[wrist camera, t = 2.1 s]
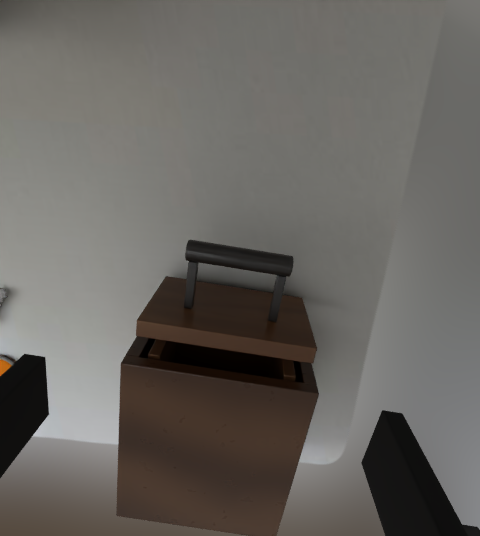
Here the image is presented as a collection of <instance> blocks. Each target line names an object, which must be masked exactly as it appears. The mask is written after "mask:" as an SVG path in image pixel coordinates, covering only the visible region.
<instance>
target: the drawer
mask: <svg viewBox="0 0 480 536" xmlns="http://www.w3.org/2000/svg"><path fill="white" fill-rule="evenodd" d="M185 258H186V260H187V261H189V263H188V272H187V279H181V278H174V277H168V276H166V277H165V279H164V280H163V282H162V283H161V285H160V286H159V288H158V289H157V291H156V292H155V294H154V295H153V297H152V298H151V300H150V301H149V303H148V304H147V306H146V307H145V309H144V310H143V312H142V313H141V315H140V316H139V318H138V319H137V328H136V336H140V337H146V338H153V339H156V340H155V342H154V344H153V346H152V348H151V350H150V352H149V354H148V359H153V360H160V361H166V362H173V363H179V364H185V365H192V366H198V367H205V368H211V369H217V370H224V371H230V372H237V373H243V374H250V375H256V376H262V377H269V378H275V379H282V380H288V381H295V378H296V376H295V370H294V364H293V361H300V362H306V363H313V362H314V358H315V355H316V351H317V347H316V343H315V340H314V336H313V333H312V329H311V326H310V323H309V319H308V316H307V312H306V309H305V305H304V302H303V299H302V298H300V297H294V296H288V295H283V290H284V286H285V281H286V276H287V277H289V276H290V275H291V272H292V268H293V256H289V255H283V254H276V253H270V252H264V251H258V250H251V249H245V248H239V247H233V246H226V245H220V244H214V243H208V242H201V241H195V240H189V241H188V243H187V247H186V253H185ZM198 262H199V263H206V264H212V265H218V266H224V267H231V268H237V269H243V270H249V271H256V272H262V273H268V274H275V275H277V276H276V281H275V286H274V291H273V293H269V292H262V291H256V290H250V289H244V288H237V287H231V286H225V285H218V284H212V283H206V282H199V281H196V280H197V271H198Z"/></svg>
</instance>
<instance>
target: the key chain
mask: <svg viewBox="0 0 480 536" xmlns="http://www.w3.org/2000/svg"><path fill="white" fill-rule="evenodd" d="M6 294H7V292H6V291H5V290H4V289H2V288H0V302H1V303H3V300H2V299H3V298H4V297H5V298H7V295H6ZM1 303H0V307H1V306H2V304H1ZM13 364H14V362H13V361H11V360H10V359H8V358H6V357H4V356H0V376H1V375H2V374H3V373H4V372H6V371H7V370H8V369H9V368H10V367H11V366H12V365H13Z"/></svg>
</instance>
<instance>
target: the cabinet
mask: <svg viewBox="0 0 480 536" xmlns="http://www.w3.org/2000/svg"><path fill="white" fill-rule="evenodd" d="M155 340H156V339H153V338H146V337H140V336H137V337H136V339H135V341H134V342H133V344H132V346H131V347H130V349H129V350H128V352H127V354H126V356H125V357H124V359H123V361H122V362H121V377H120V412H119V446H118V480H117V481H118V482H117V514H116V515H117V516H121V517H128V518H134V519H141V520H148V521H155V522H161V523H168V524H174V525H181V526H188V527H195V528H201V529H208V530H214V531H221V532H228V533H235V534H241V535H248V536H276V535H277V532H278V529H279V525H280V522H281V519H282V515H283V512H284V508H285V505H286V502H287V499H288V495H289V492H290V489H291V485H292V482H293V479H294V475H295V472H296V468H297V465H298V462H299V459H300V455H301V452H302V449H303V445H304V442H305V439H306V435H307V432H308V429H309V425H310V422H311V419H312V415H313V412H314V409H315V405H316V402H317V399H318V395H319V393H318V389H317V384H316V380H315V376H314V372H313V368H312V364H311V363H306V362H300V361H293V364H294V370H295V376H296V378H295V381H288V380H282V379H275V378H269V377H262V376H256V375H250V374H243V373H237V372H230V371H224V370H217V369H211V368H205V367H198V366H192V365H185V364H179V363H173V362H166V361H160V360H153V359H148V354H149V352H150V350H151V348H152V346H153V344H154V342H155Z"/></svg>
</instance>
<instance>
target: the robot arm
mask: <svg viewBox="0 0 480 536" xmlns="http://www.w3.org/2000/svg"><path fill="white" fill-rule="evenodd" d="M48 415H49V409H48V394H47V378H46V362H45V357H41V356H34V355H28V354H24V355H23V356H22V357H21V358H20V359H19V360H17V361H16V362H15V363H14V364H13V365H12V366H11V367H10V368H9V369H8V370H7V371H6V372H4V373H3V374H2V375H1V376H0V478H1V477H2V475H3V474H4V473H5V471H6V470H7V469H8V467H9V466H10V465H11V463H12V462H13V461H14V459H15V458H16V457H17V455H18V454H19V453H20V451H21V450H22V448H23V447H24V446H25V445H26V443H27V442H28V441H29V440H30V438H31V437H32V436H33V434H34V433H35V432H36V430H37V429H38V428H39V426H40V425H41V424H42V422H43V421H44V420H45V419H46V417H47V416H48ZM362 466H363V469H364V472H365V475H366V478H367V481H368V484H369V487H370V490H371V493H372V496H373V499H374V502H375V506H376V509H377V512H378V515H379V518H380V521H381V524H382V527H383V530H384V533H385V536H480V530H479V528H478V527H474V526H467V525H462V524H461V522H460V520H459V518H458V516H457V514H456V513H455V511H454V509H453V507H452V505H451V503H450V501H449V500H448V498H447V496H446V494H445V492H444V490H443V488H442V487H441V485H440V483H439V481H438V479H437V477H436V476H435V474H434V472H433V470H432V468H431V466H430V464H429V462H428V461H427V459H426V457H425V455H424V453H423V451H422V449H421V448H420V446H419V444H418V442H417V440H416V438H415V436H414V435H413V433H412V431H411V429H410V427H409V425H408V423H407V421H406V420H405V418H404V416H403V414H402V413H396V412H389V411H382V412H381V415H380V417H379V420H378V422H377V425H376V428H375V430H374V433H373V435H372V438H371V440H370V443H369V445H368V448H367V450H366V453H365V455H364V458H363V460H362Z"/></svg>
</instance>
